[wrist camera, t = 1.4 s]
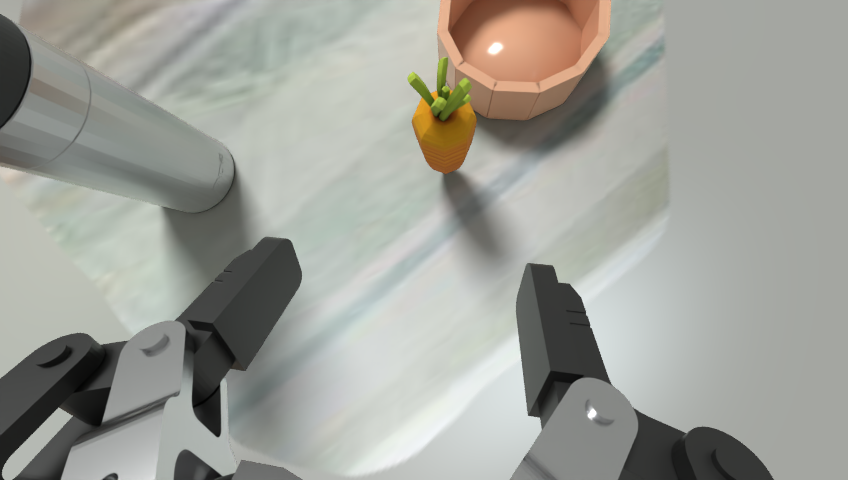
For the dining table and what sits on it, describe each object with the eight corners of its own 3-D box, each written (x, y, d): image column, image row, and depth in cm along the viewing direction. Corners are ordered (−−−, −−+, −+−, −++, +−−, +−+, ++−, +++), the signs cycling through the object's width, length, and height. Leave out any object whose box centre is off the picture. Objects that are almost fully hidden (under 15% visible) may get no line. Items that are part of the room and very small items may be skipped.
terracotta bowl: (433, 115, 34) (430, 87, 29) (448, -13, 36) (447, -59, 31) (583, 123, 32) (606, 95, 27) (589, -11, 34) (613, -60, 29)
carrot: (414, 168, 33) (384, 82, 19) (446, 137, 33) (442, 26, 19) (446, 199, 33) (441, 134, 18) (479, 167, 33) (501, 76, 18)
